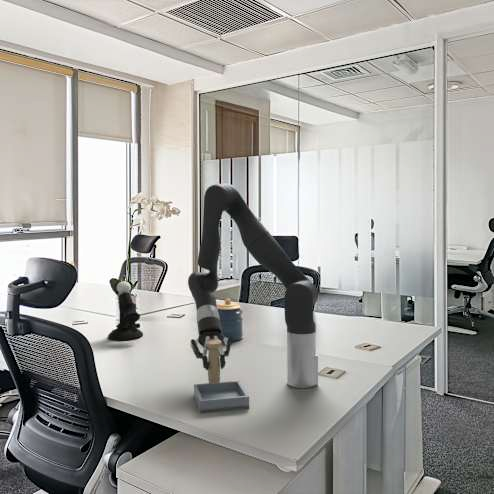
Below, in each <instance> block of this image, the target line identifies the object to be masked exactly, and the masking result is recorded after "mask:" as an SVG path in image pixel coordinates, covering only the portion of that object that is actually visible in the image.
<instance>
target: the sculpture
mask: <svg viewBox="0 0 494 494" xmlns="http://www.w3.org/2000/svg"><path fill="white" fill-rule="evenodd" d="M131 289H132V285H131V284H130V283H129V282H128V281H126V280H125V281H124V280H123V281H120V282H118V284H117V285H116V291H117V292H118V293H117V294H118V295H117V303H118V310H119V323H118V324H117V325H116V326H115V327H116V328H115V329H113V330H112V331H110V333H108V336H107V338H108V340H110V341H115V342H125V341H135V340H137V339H141V338H143V336H144V332H142V331H141V330H140V329H139V328H140V327H141V323H139V322H138V321H139V320H140V318H141V315H140V313H139V312H137V304H136V303H134V302H133V299H132V292H131ZM136 322H138V323H136Z"/></svg>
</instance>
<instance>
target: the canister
mask: <svg viewBox="0 0 494 494" xmlns="http://www.w3.org/2000/svg"><path fill="white" fill-rule="evenodd" d="M241 308H242V306H241V305H240V304H238V303H237V302H233V301H231V299H230V298H226V299H225V300H224V302H219V303H218V304H217V310H218V313H219V319H220V325H221V332H222V335H223V336H224V337H226V338H229V337H232V341H231V342H236V341H237V342H238V341H241V340H242V339H243V336H244V332H243V326H244V325H243V320H244V319H243V317H242V314H243V313H244V311H243V310H242V309H241Z"/></svg>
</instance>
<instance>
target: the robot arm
mask: <svg viewBox="0 0 494 494" xmlns="http://www.w3.org/2000/svg"><path fill="white" fill-rule="evenodd" d="M203 198H204V199H203V213H202V214H203V216H202V233H201V234H202V235H201V240H200V247H199V251H198V257H197V261H196V262H197V265H198V267H200V268H201V269H205V270H207V271H208V272H200V271H196V272H195V271H194V272H192V273H191V274H190V275H189V276H188V278H187V279H188V280H187V285H188V288H189V291H190V293H191V295H192V297H193V299H194V302H195V308H196V324H197V330H198V331H197V333H198V338H197V339H193V338H192V339H191V340H190V347H191V349H192V351H193V354H194V356H195V358H196V359H201V360H202V366H203V369H205V371H208V368H209V367H208V351H209V350H208V348H207V347H206V340H209V339H219V340H221V344H223V342H224V344H225V345H226V348H225V350H224V349H223V345H221V347H220V348H219V361H220V370H224V368H225V366H226V358H227V357H229V355H230V351H231V347H232V342H233V341H232V337H229V338H226V337H224V336H223V335H222V332H221V325H220V319H219V313H218V310H217V305H218V304H217V298H216V296H215V295H214V294H213V293H215V292H216V290H217V289H218V288H219V287H218V286H219V278H218V277H219V276H218V263H219V256H220V253H221V247H222V246H221V245H222V242H221V236H220V223H221V219H222V216H223V213H224V212H226V213H227V214H228V216H229V217H230V218H231V219H232V220H233V221H234V222H235V224H236V226H237V228H238V231H239V235H240V238H241V241H242V243H243V245H244V247H245V249H246V250H247V251H248V252H249V254H250V255H251V256H252V258H253V259H254V260H255V261H256V262H257V263H258V264H260V266H262V267H263V268H265V270H267V271H268V272H270V273H271V274H272V275H274V276H275V277H276V279H278V280H279V282H281V284H282V285H283V286H284V289H286V290H285V292H284V298H283V299H284V300H283V301H284V322H285V324H286V372H287V373H286V375H287V376H286V384H287V385H288V386H290V387H292V388H296V389H298V388H299V389H308V388H313V387H315V386H319V356H318V354H317V351H316V349H317V338H316V337H317V333H316V332H317V330H316V329H317V324H316V321H315V320H314V305H315V304H316V303H317V301H318V298H319V292H318V289H317V287H316V285H315V284H314V283H313V282H312V281H311V280H310V279H309V278H308V277H307V275H305V274H304V273H303V272H302V271H301V270H300V269H299V268H298V267H297V266H296V265H295V264H294V262H293V261H292V260H291V258H290V257H289V256H288V254H287V253H286V251H285V250H284V249H283V247H281V246H280V244H279V242H277V240H276V239H275V238H274V236H273V235H272V234H271V233H270V232H269V230H267V228H266V227H265V226H264V225H263V223H262V222H261V221H260V219H258V217H257V216H256V215H255V214H254V212H253V211H252V210H251V208H250V207H249V206H248V205H247V203H246V201H245V199H244V198H243V196H242V195H241V193H240V192H239V190H238V189H237V188H236V187H235V186H233V185H232V184H230V183H228V182H227V183H225V182H223V183H216V184H212V185H210V186H208V187H207V189H206V190H205V192H204V197H203ZM199 345H200V346H201V347H202V348H203V351H202V352H201V351H200V349H199V347H198V346H199Z"/></svg>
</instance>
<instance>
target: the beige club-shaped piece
mask: <svg viewBox="0 0 494 494" xmlns="http://www.w3.org/2000/svg"><path fill="white" fill-rule="evenodd" d="M222 344H223V343H222ZM222 344H221V340H219V339H209V340H206V347H207V348H208V350H207V351H208V352H207V358H208V367H209V368H208V370H207V377H208V378H207V379H208V383H216V382H221V381H220V380H221V366H220V357H219V348H220V347H221V346H223V345H222Z"/></svg>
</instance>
